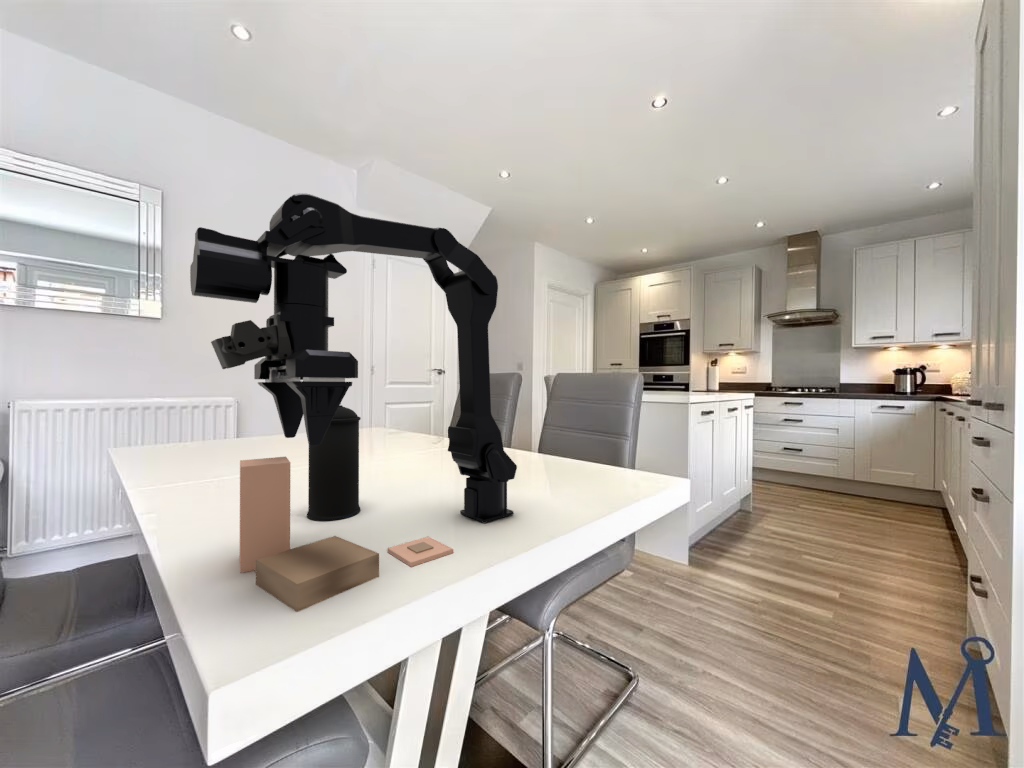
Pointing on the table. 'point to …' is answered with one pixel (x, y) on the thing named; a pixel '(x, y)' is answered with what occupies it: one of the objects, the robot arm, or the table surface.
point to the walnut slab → (316, 571)
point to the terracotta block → (264, 509)
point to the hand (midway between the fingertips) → (301, 441)
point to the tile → (419, 551)
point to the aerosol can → (335, 470)
